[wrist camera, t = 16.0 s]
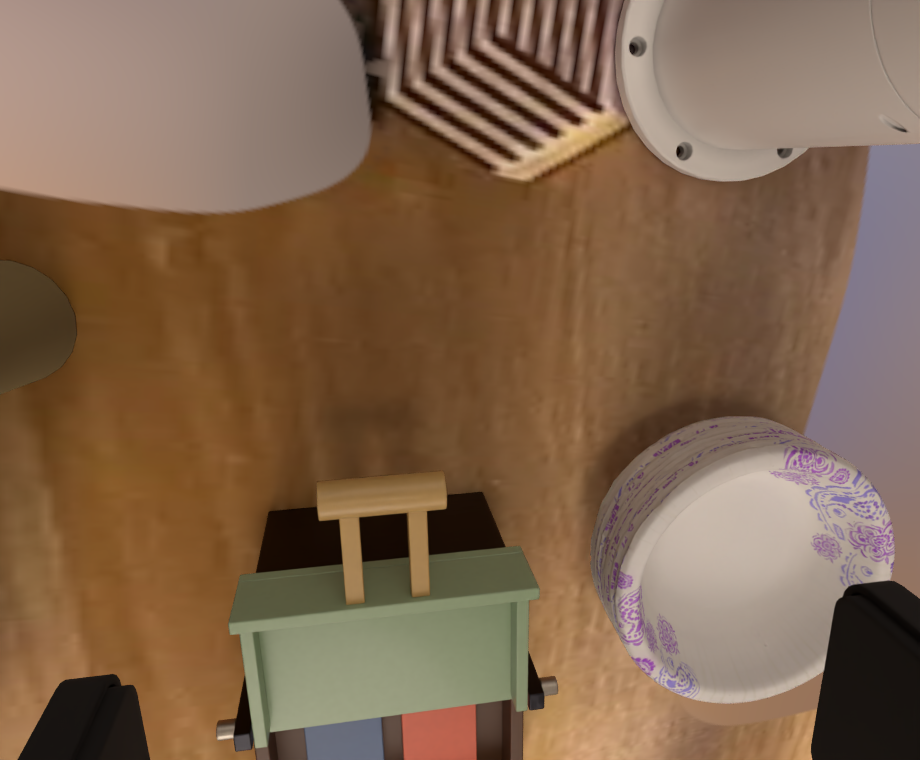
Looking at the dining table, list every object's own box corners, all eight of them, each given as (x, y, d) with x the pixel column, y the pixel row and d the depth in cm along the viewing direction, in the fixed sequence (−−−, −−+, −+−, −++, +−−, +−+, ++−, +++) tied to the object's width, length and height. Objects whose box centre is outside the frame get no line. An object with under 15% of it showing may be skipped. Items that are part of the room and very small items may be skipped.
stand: (526, 487, 40) (566, 557, 33) (525, 616, 43) (561, 706, 36) (219, 515, 38) (190, 597, 31) (238, 650, 40) (215, 755, 33)
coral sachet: (476, 763, 44) (474, 753, 45) (476, 692, 42) (473, 683, 43) (404, 774, 43) (403, 763, 44) (400, 702, 42) (399, 693, 42)
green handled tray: (520, 438, 32) (543, 472, 29) (519, 689, 36) (537, 745, 33) (225, 462, 30) (209, 501, 27) (260, 725, 34) (250, 788, 31)
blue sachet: (385, 777, 43) (384, 766, 44) (380, 705, 41) (380, 696, 42) (310, 788, 42) (310, 777, 43) (302, 716, 41) (303, 706, 42)
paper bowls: (520, 548, 41) (560, 632, 34) (686, 346, 39) (767, 390, 32) (693, 656, 46) (762, 751, 39) (850, 481, 44) (954, 546, 36)
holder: (512, 623, 43) (524, 655, 40) (511, 769, 46) (522, 808, 44) (253, 654, 41) (246, 690, 38) (273, 805, 44) (268, 849, 41)
